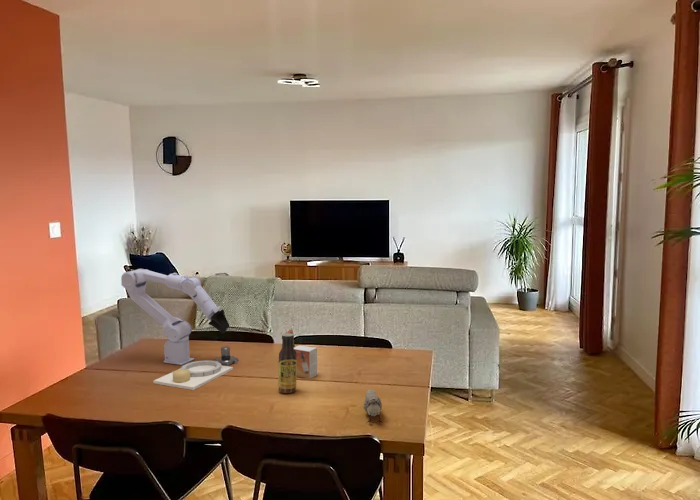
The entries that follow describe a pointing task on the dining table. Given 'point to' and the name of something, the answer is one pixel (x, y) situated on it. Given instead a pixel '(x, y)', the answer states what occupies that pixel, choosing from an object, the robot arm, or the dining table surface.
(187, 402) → the dining table surface
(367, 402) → the decorative bird
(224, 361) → the gear
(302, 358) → the small box
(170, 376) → the carrier plate
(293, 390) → the sauce bottle
